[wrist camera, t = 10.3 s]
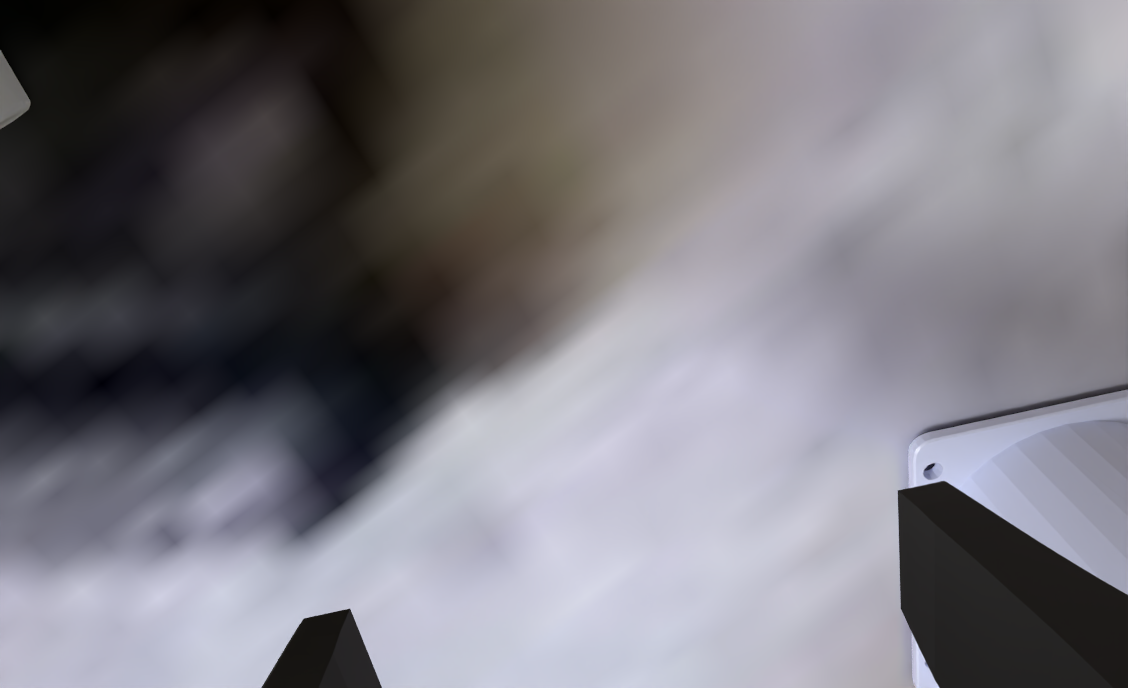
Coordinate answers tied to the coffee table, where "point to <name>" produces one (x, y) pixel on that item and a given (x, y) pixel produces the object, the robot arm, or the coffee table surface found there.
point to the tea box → (10, 95)
